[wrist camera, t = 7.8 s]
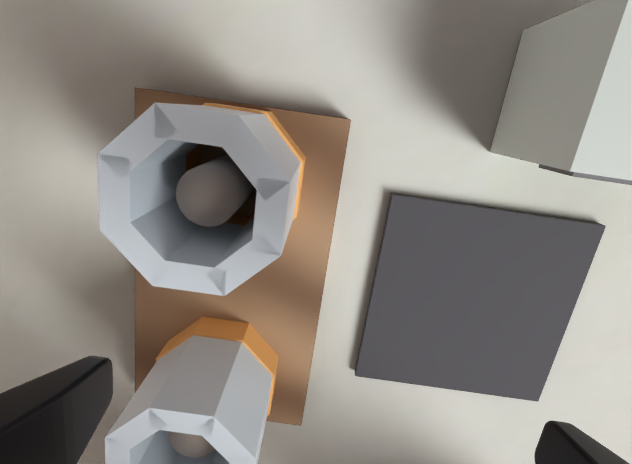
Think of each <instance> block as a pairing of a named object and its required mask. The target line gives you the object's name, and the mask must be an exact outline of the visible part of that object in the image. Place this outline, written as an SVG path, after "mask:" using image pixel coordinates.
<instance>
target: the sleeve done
mask: <svg viewBox="0 0 632 464" xmlns="http://www.w3.org/2000/svg"><path fill="white" fill-rule="evenodd" d="M277 364H278V355H277V354H276V352H275V351H274V350H273V349H272V348H271V347H270V346H269V345H268V344H267V342H266V341H265V340H264V339H263V338H262V337H261V336H260V335H259V333H258V332H257V331H256V330H255V329H254V328H253V327H252V326H251V324H250V323H245V322H238V321H231V320H224V319H217V318H209V317H201V318H200V319H198V320H197V321H196V322H194V323H193V324H191V325H190V326H188V327H187V328H186V329H184V330H183V331H181V332H180V333H179V334H177V335H176V336H174V337H173V338H171V339H170V340H169V341H168V342H167V343H166V345H165V346H164V348H163V349H162V351H161V352H160V354H159V355H158V356H157V358H156V363H155V365H154V366H153V368H152V369H151V371H150V372H149V374H148V375H147V376H146V378H145V379H144V381H143V382H142V384H141V385H140V387H139V388H138V390H137V391H136V392H135V394H134V395H133V397H132V398H131V400H130V401H129V403H128V404H127V406H126V407H125V409H124V410H123V411H122V413H121V414H120V416H119V417H118V419H117V420H116V422H115V423H114V425H113V426H112V427H111V429H110V430H109V432H108V433H107V435H106V436H105V464H258V459H259V454H260V449H261V444H262V439H263V434H264V429H265V424H266V419H267V416H268V415H270V410H271V404H272V399H273V394H274V387H275V379H276V371H277ZM169 431H171V432H178V433H186V434H193V435H200V436H203V437H204V438H205V439H206V440H207V441H208V442H209V443H210V444H211V445H212V446H213V447H214V448H215V449H214V451H213V452H212V453H210V454H209V455H207V456H204V457H199V458H192V457H187V456H184V455H182V454H180V453H179V452H177V451H176V450H175V449H174V448H173V447H172V446H171V444H170V442H169V439H168V432H169Z"/></svg>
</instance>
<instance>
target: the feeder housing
mask: <svg viewBox="0 0 632 464" xmlns="http://www.w3.org/2000/svg"><path fill="white" fill-rule="evenodd" d="M490 152H492V153H496V154H500V155H504V156H508V157H513V158H517V159H521V160H525V161H529V162H533V163H537V164H539V168H543V169H547V170H550V171H554V172H558V173H562V174H566V175H570V176H574V177H581V178H588V179H594V180H601V181H608V182H615V183H622V184H628V185H632V0H593V1H591V2H588V3H586V4H584V5H581V6H579V7H577V8H574V9H572V10H569V11H567V12H565V13H562V14H560V15H558V16H555V17H553V18H551V19H548V20H546V21H543V22H541V23H539V24H536V25H534V26H532V27H529V28H527V29H524V30H523V33H522V36H521V40H520V44H519V47H518V51H517V55H516V58H515V62H514V66H513V69H512V73H511V76H510V80H509V84H508V87H507V91H506V95H505V98H504V102H503V106H502V109H501V113H500V117H499V120H498V124H497V128H496V131H495V135H494V138H493V142H492V146H491V149H490Z"/></svg>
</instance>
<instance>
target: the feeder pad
mask: <svg viewBox="0 0 632 464" xmlns="http://www.w3.org/2000/svg"><path fill="white" fill-rule="evenodd" d="M605 227H606V226H604V225H602V224H599V223H592V222H585V221H578V220H572V219H565V218H558V217H551V216H544V215H537V214H531V213H524V212H517V211H510V210H503V209H496V208H490V207H483V206H476V205H469V204H462V203H455V202H449V201H442V200H435V199H428V198H421V197H414V196H407V195H401V194H394V193H391V197H390V202H389V207H388V212H387V217H386V222H385V227H384V231H383V236H382V241H381V246H380V251H379V256H378V261H377V266H376V271H375V275H374V280H373V285H372V290H371V295H370V300H369V305H368V310H367V315H366V319H365V324H364V329H363V334H362V339H361V344H360V349H359V354H358V359H357V363H356V368H355V376H359V377H366V378H374V379H381V380H388V381H395V382H402V383H409V384H417V385H424V386H431V387H438V388H445V389H453V390H460V391H467V392H474V393H481V394H489V395H496V396H503V397H510V398H517V399H524V400H532V401H538V400H539V398H540V395H541V393H542V390H543V387H544V385H545V382H546V380H547V377H548V374H549V372H550V369H551V367H552V364H553V361H554V359H555V356H556V354H557V351H558V348H559V346H560V343H561V341H562V338H563V336H564V333H565V330H566V328H567V325H568V323H569V320H570V317H571V315H572V312H573V310H574V307H575V304H576V302H577V299H578V297H579V294H580V291H581V289H582V286H583V284H584V281H585V279H586V276H587V273H588V271H589V268H590V266H591V263H592V260H593V258H594V255H595V253H596V250H597V247H598V245H599V242H600V240H601V237H602V234H603V232H604V229H605Z"/></svg>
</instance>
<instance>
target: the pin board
mask: <svg viewBox="0 0 632 464" xmlns="http://www.w3.org/2000/svg"><path fill="white" fill-rule="evenodd" d="M154 103H170V104H188V105H203V104H204V103H215V104H223V105H229V106H236V107H243V108H250V109H256V110H263V111H270V112H272V113H273V114H274V116H275V117H276V118H277V120H278V121H279V122H280V124H281V125H282V126H283V128H284V129H285V130H286V132H287V133H288V134H289V136H290V137H291V138H292V140H293V141H294V142H295V144H296V145H297V146H298V148H299V149H300V150H301V152H302V153H303V154H304V156H305V157H306V158H305V166H304V173H303V181H302V189H301V196H300V204H299V210H298V213H297V217H296V218H295V219H294V220H293V221H292V224H291V227H290V230H289V233H288V236H287V239H286V242H285V246H284V249H283V252H282V255H281V256H280V257H279V258H277V259H276V260H275V261H273V262H272V263H270V264H269V265H268V266H266V267H265V268H263V269H262V270H261V271H259V272H258V273H256V274H255V275H254V276H252V277H251V278H249V279H248V280H247V281H245V282H244V283H242V284H241V285H239V286H238V287H237V288H235V289H234V290H232V291H231V292H230V293H228V294H227V295H225V296H220V295H213V294H206V293H199V292H192V291H185V290H178V289H170V288H163V287H156V286H152V285H151V284H150V283H149V282H148V281H147V280H146V279H145V278H144V277H143V275H142V274H141V273H140V272H139V271H138V270H137V269H136V268H135V392H136V391H137V390H138V388H139V387H140V385H141V384H142V382H143V381H144V379H145V378H146V376H147V375H148V374H149V372H150V371H151V369H152V368H153V366H154V365H155V363H156V358H157V356H158V355H159V354H160V352H161V351H162V349H163V348H164V346H165V345H166V343H167V342H168V341H169V340H170V339H171V338H173V337H174V336H176V335H177V334H179V333H180V332H181V331H183V330H184V329H186V328H187V327H188V326H190V325H191V324H193V323H194V322H196V321H197V320H198V319H200V318H201V317H209V318H217V319H224V320H231V321H238V322H245V323H250V324H251V326H252V327H253V328H254V329H255V330H256V331H257V332H258V333H259V335H260V336H261V337H262V338H263V339H264V340H265V341H266V342H267V344H268V345H269V346H270V347H271V348H272V349H273V350H274V351H275V352H276V354H277V355H278V364H277V371H276V379H275V387H274V394H273V399H272V404H271V410H270V415H268V416H267V419H266V421H271V422H279V423H286V424H293V425H301V423H302V417H303V411H304V405H305V399H306V393H307V387H308V380H309V374H310V368H311V362H312V356H313V350H314V344H315V337H316V331H317V325H318V319H319V313H320V307H321V301H322V294H323V288H324V282H325V276H326V270H327V264H328V258H329V251H330V245H331V239H332V233H333V227H334V221H335V215H336V208H337V202H338V196H339V190H340V184H341V178H342V171H343V165H344V159H345V153H346V147H347V141H348V135H349V128H350V122H351V120H350V119H344V118H337V117H330V116H323V115H317V114H310V113H303V112H296V111H290V110H283V109H276V108H270V107H263V106H256V105H249V104H243V103H236V102H229V101H223V100H216V99H209V98H202V97H196V96H189V95H182V94H176V93H169V92H162V91H155V90H149V89H141V88H135V120H136V119H137V118H138V117H139V116H140V115H142V114H143V113H144V112H145V111H146V110H147V109H148V108H149V107H151V106H152V105H153V104H154ZM256 195H257V190H256V188H255V187H254V186H253V185H252V183H251V182H250V181H249V180H248V178H247V177H246V176H245V175H244V173H243V172H242V171H241V170H240V169H239V167H238V166H237V165H236V164H235V162H234V161H233V160H232V159H231V157H230V156H229V155H228V154H227V152H226V151H225V150H224V149H223V147H219V146H212V145H205V146H204V147H203V148H202V149H201V150H199V151H198V166H197V167H195V168H192V169H190V170H189V171H187V172H186V173H185V174H184V175H183V176H182V177H181V178H180V180H179V182H178V184H177V188H176V199H177V203H178V206H179V208H180V210H181V212H182V213H183V214H184V215H185V216H186V217H187V218H188V219H189V220H190V221H192V222H193V223H196V224H198V225H201V226H206V227H213V226H218V225H221V224H223V223H224V222H226V221H227V220H228V219H229V218H230V217H231V216H232V215H233V214H239V215H246V216H253V215H254V214H255V205H256ZM168 439H169V442H170V444H171V446H172V447H173V448H174V449H175V450H176V451H177V452H179V453H180V454H182V455H184V456H187V457H192V458H199V457H204V456H207V455H209V454H210V453H212V452H213V451H214V449H215V448H214V447H213V446H212V445H211V444H210V443H209V442H208V441H207V440H206V439H205V438H204V437H203V436H200V435H193V434H186V433H178V432H171V431H169V432H168Z"/></svg>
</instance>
